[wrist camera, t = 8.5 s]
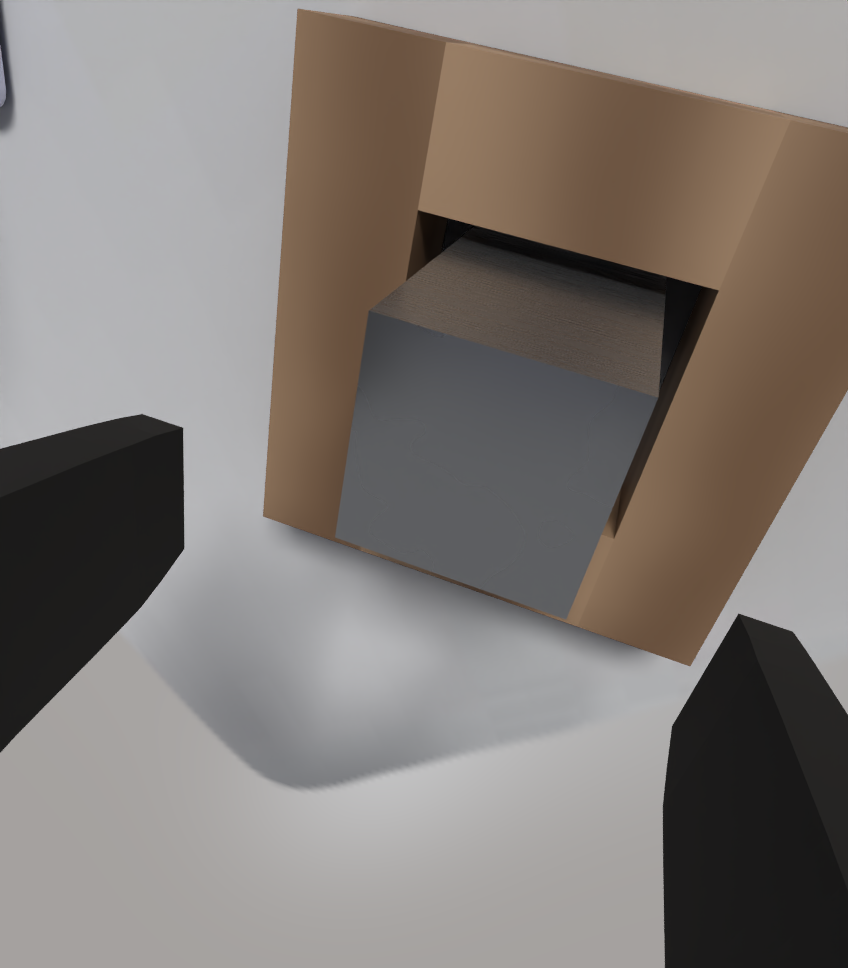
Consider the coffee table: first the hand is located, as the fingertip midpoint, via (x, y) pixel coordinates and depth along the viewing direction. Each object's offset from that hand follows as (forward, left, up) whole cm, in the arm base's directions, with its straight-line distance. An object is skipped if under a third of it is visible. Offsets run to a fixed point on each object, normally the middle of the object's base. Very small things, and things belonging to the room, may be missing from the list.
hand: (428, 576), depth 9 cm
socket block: (0, 0, -9) cm, 9 cm away
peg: (0, 0, -9) cm, 9 cm away
